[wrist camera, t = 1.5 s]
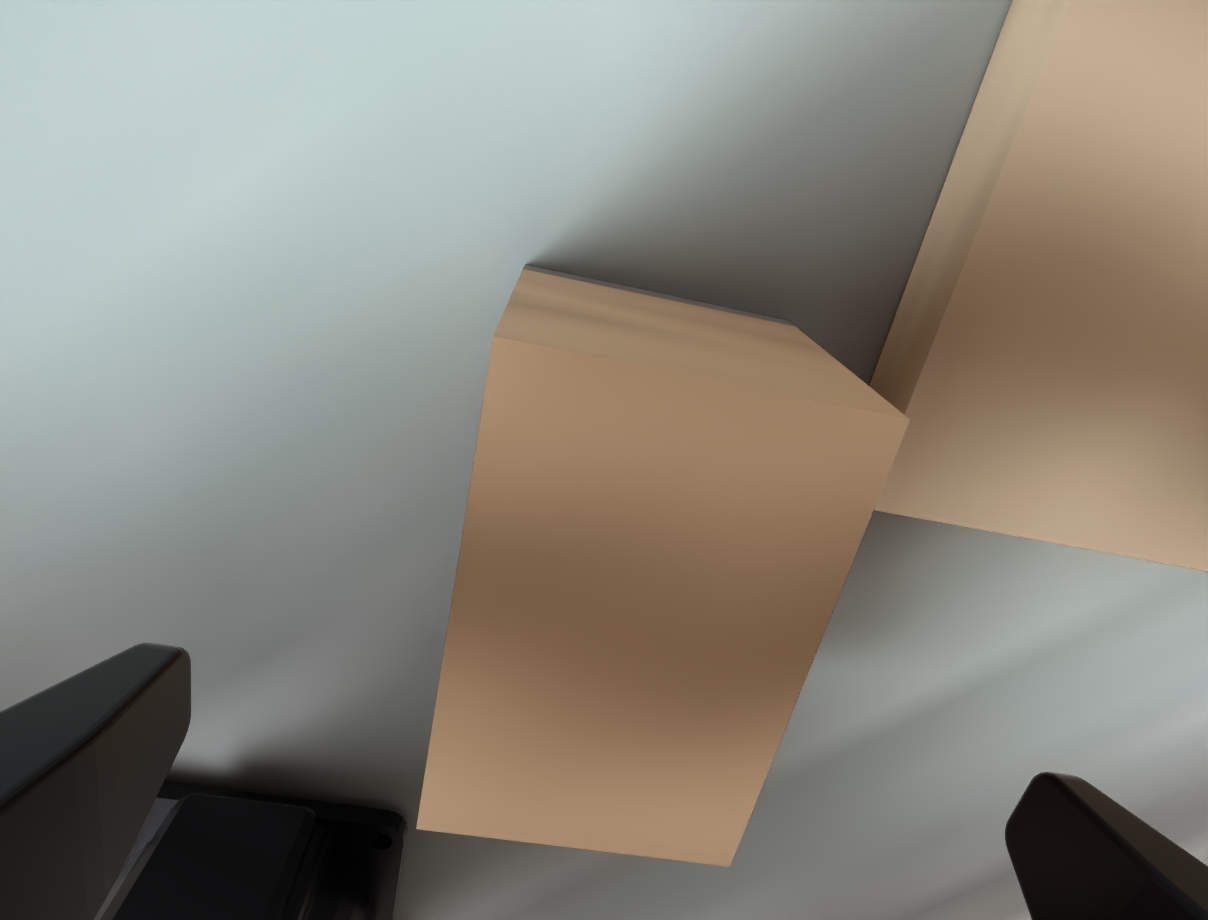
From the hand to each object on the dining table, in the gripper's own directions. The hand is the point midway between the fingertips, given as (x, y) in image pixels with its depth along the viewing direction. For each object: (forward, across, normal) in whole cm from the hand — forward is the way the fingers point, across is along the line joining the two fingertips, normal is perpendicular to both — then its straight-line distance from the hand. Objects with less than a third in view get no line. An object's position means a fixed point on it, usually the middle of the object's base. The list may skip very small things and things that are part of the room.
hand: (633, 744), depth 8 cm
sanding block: (+6, 0, 0) cm, 6 cm away
